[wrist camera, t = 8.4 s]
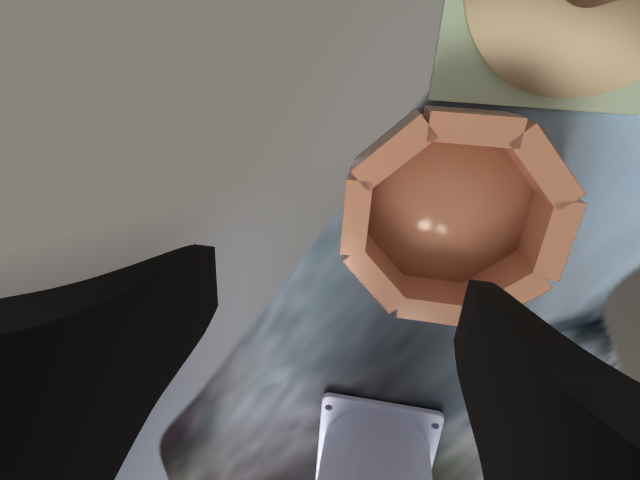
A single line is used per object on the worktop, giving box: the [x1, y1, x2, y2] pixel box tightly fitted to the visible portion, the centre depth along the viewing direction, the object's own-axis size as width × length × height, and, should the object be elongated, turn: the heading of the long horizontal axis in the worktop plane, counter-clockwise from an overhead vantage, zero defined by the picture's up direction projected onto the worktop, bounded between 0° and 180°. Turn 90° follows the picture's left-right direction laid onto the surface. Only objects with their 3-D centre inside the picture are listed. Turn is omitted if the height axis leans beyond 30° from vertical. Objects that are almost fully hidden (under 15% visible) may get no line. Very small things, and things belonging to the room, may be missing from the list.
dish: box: [340, 105, 587, 326], centre depth 19 cm, size 10×10×3 cm
